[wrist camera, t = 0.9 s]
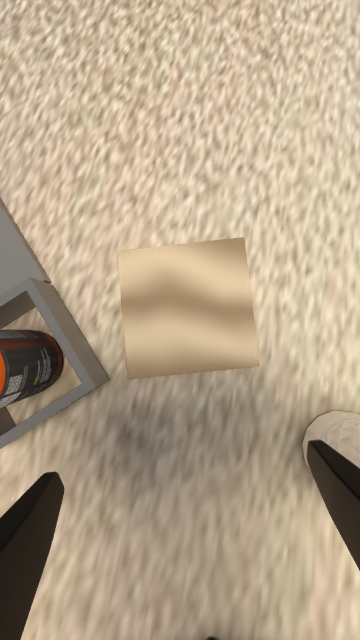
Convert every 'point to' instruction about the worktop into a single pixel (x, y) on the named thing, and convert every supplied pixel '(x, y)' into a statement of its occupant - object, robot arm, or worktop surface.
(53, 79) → the worktop surface
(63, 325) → the case
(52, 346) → the supplement bottle
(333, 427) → the white cup
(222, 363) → the board
